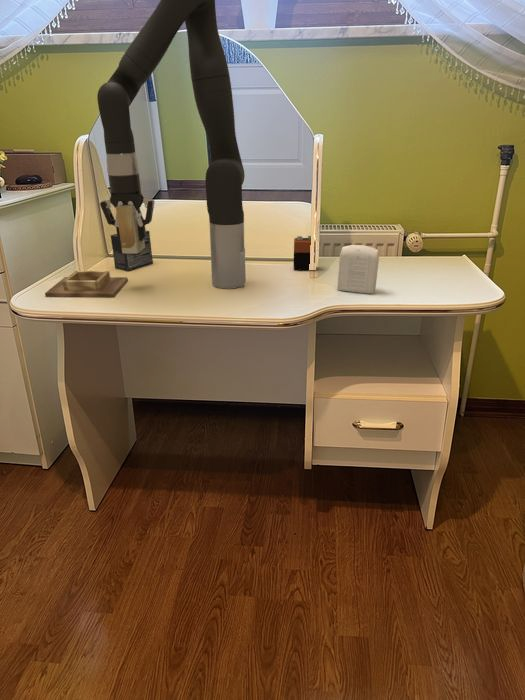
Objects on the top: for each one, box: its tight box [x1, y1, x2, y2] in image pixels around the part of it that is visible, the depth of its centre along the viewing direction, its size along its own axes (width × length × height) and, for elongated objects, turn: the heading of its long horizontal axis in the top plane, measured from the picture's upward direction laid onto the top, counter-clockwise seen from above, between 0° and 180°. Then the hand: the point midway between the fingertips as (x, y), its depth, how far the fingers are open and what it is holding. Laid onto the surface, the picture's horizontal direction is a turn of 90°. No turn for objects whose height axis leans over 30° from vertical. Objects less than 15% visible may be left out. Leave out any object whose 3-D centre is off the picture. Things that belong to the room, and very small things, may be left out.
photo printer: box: [336, 244, 380, 295], centre depth 137 cm, size 10×4×12 cm, turn 73°
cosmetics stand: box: [44, 270, 129, 298], centre depth 141 cm, size 18×14×4 cm
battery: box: [293, 235, 312, 272], centre depth 156 cm, size 4×7×10 cm, turn 88°
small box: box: [110, 230, 154, 272], centre depth 159 cm, size 11×6×10 cm, turn 144°
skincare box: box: [115, 205, 145, 254], centre depth 135 cm, size 6×4×12 cm
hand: (132, 240), depth 136 cm, fingers closed on skincare box, 4 cm apart
